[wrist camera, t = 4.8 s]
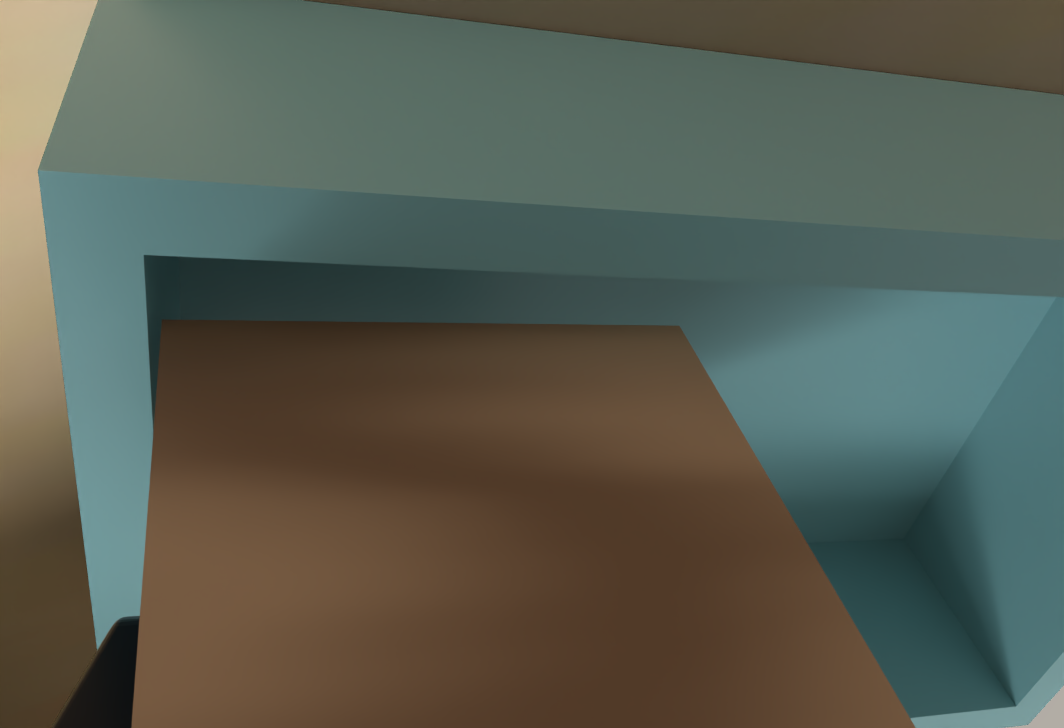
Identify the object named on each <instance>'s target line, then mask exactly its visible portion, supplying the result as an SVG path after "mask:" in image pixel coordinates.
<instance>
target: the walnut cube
mask: <svg viewBox="0 0 1064 728" xmlns="http://www.w3.org/2000/svg"><path fill="white" fill-rule="evenodd" d="M131 728H916V727H915V726H914V724H913V722H912V721H911V719H910V717H909V715H908V714H907V712H906V710H905V709H904V707H903V705H902V704H901V702H900V700H899V698H898V697H897V695H896V693H895V692H894V690H893V688H892V687H891V685H890V683H889V681H888V680H887V678H886V676H885V675H884V673H883V671H882V670H881V668H880V666H879V664H878V663H877V661H876V659H875V658H874V656H873V654H872V653H871V651H870V649H869V647H868V646H867V644H866V642H865V641H864V639H863V637H862V636H861V634H860V632H859V630H858V629H857V627H856V625H855V624H854V622H853V620H852V618H851V617H850V615H849V613H848V612H847V610H846V608H845V607H844V605H843V603H842V601H841V600H840V598H839V596H838V595H837V593H836V591H835V590H834V588H833V586H832V584H831V583H830V581H829V579H828V578H827V576H826V574H825V573H824V571H823V569H822V567H821V566H820V564H819V562H818V561H817V559H816V557H815V556H814V554H813V552H812V550H811V549H810V547H809V545H808V544H807V542H806V540H805V539H804V537H803V535H802V533H801V532H800V530H799V528H798V527H797V525H796V523H795V522H794V520H793V518H792V516H791V515H790V513H789V511H788V510H787V508H786V506H785V504H784V503H783V501H782V499H781V498H780V496H779V494H778V493H777V491H776V489H775V487H774V486H773V484H772V482H771V481H770V479H769V477H768V476H767V474H766V472H765V470H764V469H763V467H762V465H761V464H760V462H759V460H758V459H757V457H756V455H755V453H754V452H753V450H752V448H751V447H750V445H749V443H748V442H747V440H746V438H745V436H744V435H743V433H742V431H741V430H740V428H739V426H738V425H737V423H736V421H735V419H734V418H733V416H732V414H731V413H730V411H729V409H728V408H727V406H726V404H725V402H724V401H723V399H722V397H721V396H720V394H719V392H718V390H717V389H716V387H715V385H714V384H713V382H712V380H711V379H710V377H709V375H708V373H707V372H706V370H705V368H704V367H703V365H702V363H701V362H700V360H699V358H698V356H697V355H696V353H695V351H694V350H693V348H692V346H691V345H690V343H689V341H688V339H687V338H686V336H685V334H684V333H683V331H682V329H681V328H680V326H666V325H583V324H500V323H416V322H333V321H250V320H167V319H162V324H161V337H160V351H159V364H158V377H157V391H156V404H155V418H154V431H153V445H152V458H151V471H150V485H149V498H148V512H147V525H146V539H145V552H144V566H143V579H142V592H141V606H140V619H139V633H138V646H137V660H136V673H135V686H134V700H133V713H132V727H131Z"/></svg>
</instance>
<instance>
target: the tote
mask: <svg viewBox="0 0 1064 728" xmlns="http://www.w3.org/2000/svg"><path fill="white" fill-rule="evenodd" d="M38 175H39V183H40V191H41V200H42V208H43V216H44V224H45V232H46V240H47V248H48V256H49V264H50V272H51V281H52V289H53V297H54V305H55V313H56V321H57V329H58V337H59V345H60V353H61V362H62V370H63V378H64V386H65V394H66V402H67V410H68V418H69V426H70V434H71V442H72V451H73V459H74V467H75V475H76V483H77V491H78V499H79V507H80V515H81V523H82V532H83V540H84V548H85V556H86V564H87V572H88V580H89V588H90V596H91V604H92V613H93V621H94V629H95V637H96V645H97V650H98V648H99V646H100V645H101V643H102V641H103V640H104V638H105V636H106V635H107V633H108V631H109V630H110V628H111V627H112V625H113V624H114V623H115V622H116V621H117V620H118V619H120V618H122V617H127V616H140V606H141V592H142V579H143V566H144V552H145V539H146V525H147V512H148V498H149V485H150V471H151V458H152V445H153V431H154V418H155V404H156V391H157V377H158V364H159V351H160V337H161V324H162V319H167V320H250V321H333V322H416V323H500V324H583V325H666V326H680V328H681V329H682V331H683V333H684V334H685V336H686V338H687V339H688V341H689V343H690V345H691V346H692V348H693V350H694V351H695V353H696V355H697V356H698V358H699V360H700V362H701V363H702V365H703V367H704V368H705V370H706V372H707V373H708V375H709V377H710V379H711V380H712V382H713V384H714V385H715V387H716V389H717V390H718V392H719V394H720V396H721V397H722V399H723V401H724V402H725V404H726V406H727V408H728V409H729V411H730V413H731V414H732V416H733V418H734V419H735V421H736V423H737V425H738V426H739V428H740V430H741V431H742V433H743V435H744V436H745V438H746V440H747V442H748V443H749V445H750V447H751V448H752V450H753V452H754V453H755V455H756V457H757V459H758V460H759V462H760V464H761V465H762V467H763V469H764V470H765V472H766V474H767V476H768V477H769V479H770V481H771V482H772V484H773V486H774V487H775V489H776V491H777V493H778V494H779V496H780V498H781V499H782V501H783V503H784V504H785V506H786V508H787V510H788V511H789V513H790V515H791V516H792V518H793V520H794V522H795V523H796V525H797V527H798V528H799V530H800V532H801V533H802V535H803V537H804V539H805V540H806V542H807V544H808V545H809V547H810V549H811V550H812V552H813V554H814V556H815V557H816V559H817V561H818V562H819V564H820V566H821V567H822V569H823V571H824V573H825V574H826V576H827V578H828V579H829V581H830V583H831V584H832V586H833V588H834V590H835V591H836V593H837V595H838V596H839V598H840V600H841V601H842V603H843V605H844V607H845V608H846V610H847V612H848V613H849V615H850V617H851V618H852V620H853V622H854V624H855V625H856V627H857V629H858V630H859V632H860V634H861V636H862V637H863V639H864V641H865V642H866V644H867V646H868V647H869V649H870V651H871V653H872V654H873V656H874V658H875V659H876V661H877V663H878V664H879V666H880V668H881V670H882V671H883V673H884V675H885V676H886V678H887V680H888V681H889V683H890V685H891V687H892V688H893V690H894V692H895V693H896V695H897V697H898V698H899V700H900V702H901V704H902V705H903V707H904V709H905V710H906V712H907V714H908V715H909V717H910V719H911V721H912V722H913V724H914V726H915V727H916V728H1005V727H1013V726H1022V725H1028V724H1029V723H1030V722H1031V721H1032V720H1033V719H1034V718H1035V717H1036V715H1037V714H1038V713H1039V712H1040V711H1041V710H1042V709H1043V708H1044V707H1045V705H1046V704H1047V703H1048V702H1049V701H1050V700H1051V699H1052V698H1053V697H1054V696H1055V694H1056V693H1057V692H1058V691H1059V690H1060V689H1061V687H1063V685H1064V95H1060V94H1052V93H1044V92H1036V91H1028V90H1020V89H1012V88H1004V87H996V86H988V85H980V84H972V83H963V82H955V81H947V80H939V79H931V78H923V77H915V76H907V75H899V74H891V73H883V72H875V71H867V70H859V69H851V68H843V67H835V66H827V65H819V64H811V63H803V62H795V61H787V60H778V59H770V58H762V57H754V56H746V55H738V54H730V53H722V52H714V51H706V50H698V49H690V48H682V47H674V46H666V45H658V44H650V43H642V42H634V41H626V40H618V39H610V38H602V37H593V36H585V35H577V34H569V33H561V32H553V31H545V30H537V29H529V28H521V27H513V26H505V25H497V24H489V23H481V22H473V21H465V20H457V19H449V18H441V17H433V16H425V15H416V14H408V13H400V12H392V11H384V10H376V9H368V8H360V7H352V6H344V5H336V4H328V3H320V2H312V1H304V0H98V2H97V5H96V8H95V11H94V14H93V16H92V19H91V22H90V25H89V28H88V30H87V33H86V36H85V39H84V42H83V45H82V47H81V50H80V53H79V56H78V59H77V61H76V64H75V67H74V70H73V73H72V76H71V78H70V81H69V84H68V87H67V90H66V92H65V95H64V98H63V101H62V104H61V107H60V109H59V112H58V115H57V118H56V121H55V123H54V126H53V129H52V132H51V135H50V138H49V140H48V143H47V146H46V149H45V152H44V154H43V157H42V160H41V163H40V166H39V169H38Z"/></svg>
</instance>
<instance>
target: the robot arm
mask: <svg viewBox="0 0 1064 728" xmlns="http://www.w3.org/2000/svg"><path fill="white" fill-rule="evenodd" d="M139 619H140V616H127V617H122V618H120V619H118V620H117V621H116V622H115V623H114V624H113V625H112V627H111V628H110V630H109V631H108V633H107V635H106V636H105V638H104V640H103V641H102V643H101V645H100V646H99V648H98V650H97V651H96V653H95V655H94V656H93V658H92V660H91V661H90V663H89V665H88V666H87V668H86V670H85V671H84V673H83V675H82V676H81V678H80V680H79V681H78V683H77V685H76V686H75V688H74V690H73V691H72V693H71V695H70V696H69V698H68V700H67V701H66V703H65V705H64V706H63V708H62V710H61V711H60V713H59V715H58V716H57V718H56V720H55V721H54V723H53V725H52V726H51V728H131V727H132V713H133V700H134V686H135V673H136V660H137V646H138V633H139Z"/></svg>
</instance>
